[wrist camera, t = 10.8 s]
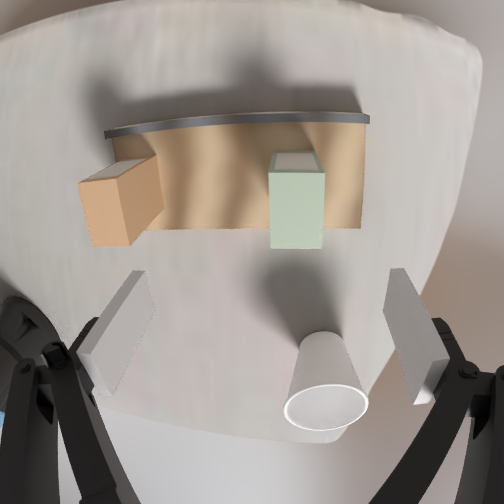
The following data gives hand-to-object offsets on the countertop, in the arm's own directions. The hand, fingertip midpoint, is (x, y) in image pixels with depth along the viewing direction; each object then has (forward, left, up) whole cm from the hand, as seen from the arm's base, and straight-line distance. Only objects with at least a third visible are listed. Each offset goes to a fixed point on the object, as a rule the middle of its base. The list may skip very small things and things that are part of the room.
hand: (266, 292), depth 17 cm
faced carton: (-14, +1, -18) cm, 23 cm away
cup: (+6, -22, -19) cm, 30 cm away
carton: (+2, +1, -18) cm, 18 cm away
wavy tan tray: (-4, +2, -19) cm, 19 cm away
